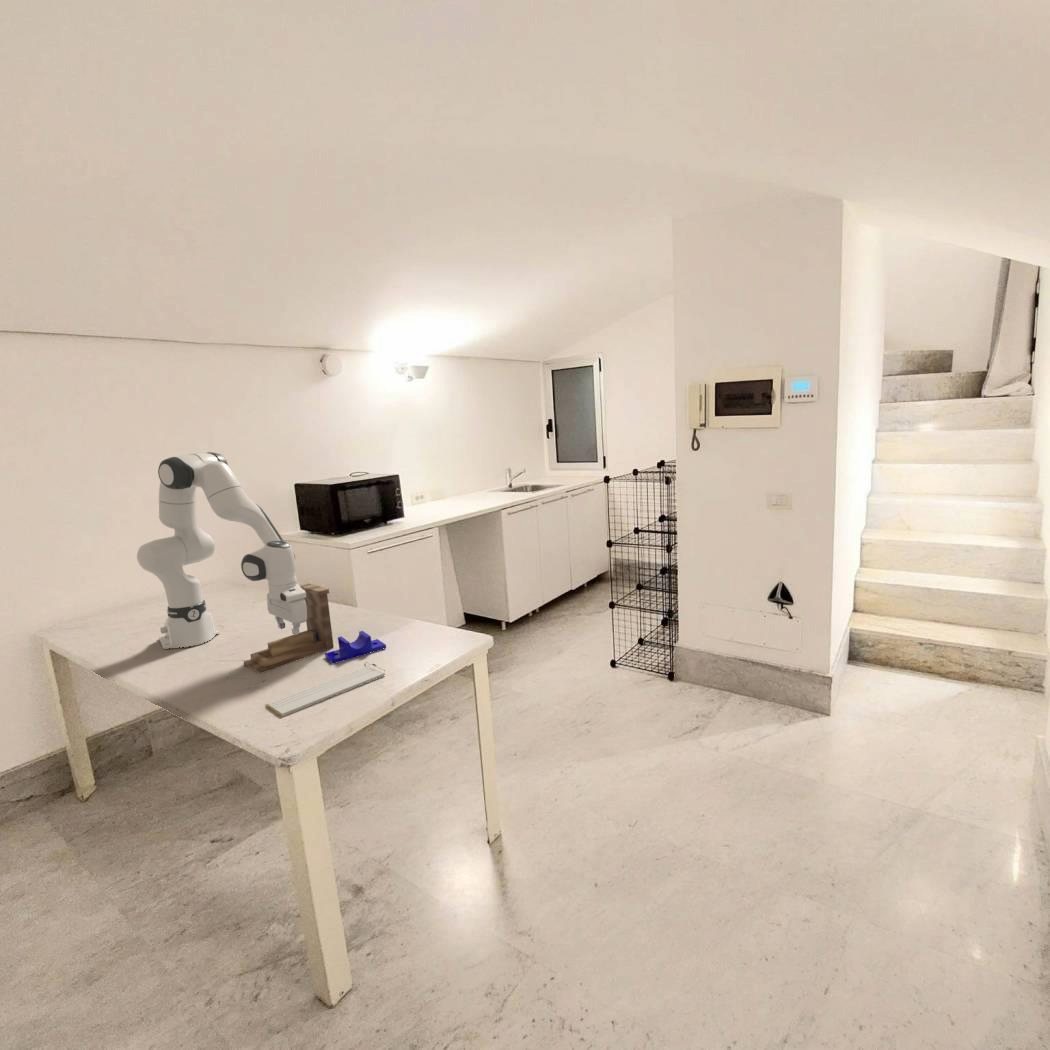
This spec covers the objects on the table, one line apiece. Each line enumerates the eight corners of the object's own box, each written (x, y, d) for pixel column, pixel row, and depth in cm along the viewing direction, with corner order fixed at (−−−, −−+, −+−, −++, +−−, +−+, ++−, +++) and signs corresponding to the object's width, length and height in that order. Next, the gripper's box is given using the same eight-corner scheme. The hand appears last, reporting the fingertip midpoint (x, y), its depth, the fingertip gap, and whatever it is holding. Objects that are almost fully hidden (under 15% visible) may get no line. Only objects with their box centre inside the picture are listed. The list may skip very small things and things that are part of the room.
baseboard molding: (263, 705, 163) (282, 719, 155) (262, 696, 163) (281, 708, 154) (364, 667, 185) (385, 677, 177) (363, 659, 184) (384, 668, 176)
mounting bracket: (332, 665, 188) (330, 647, 187) (325, 658, 194) (323, 641, 193) (386, 649, 199) (384, 632, 198) (377, 644, 204) (376, 627, 203)
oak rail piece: (269, 657, 194) (267, 642, 193) (311, 643, 205) (309, 629, 204) (274, 660, 191) (272, 645, 191) (317, 645, 202) (315, 631, 201)
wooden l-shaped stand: (243, 664, 193) (234, 602, 189) (316, 639, 211) (309, 583, 208) (261, 673, 184) (252, 609, 180) (335, 647, 202) (328, 588, 199)
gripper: (259, 587, 199) (264, 627, 201) (289, 598, 185) (294, 640, 188) (278, 583, 204) (282, 622, 206) (308, 593, 190) (313, 634, 193)
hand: (288, 631), depth 197 cm, fingers open, 8 cm apart
